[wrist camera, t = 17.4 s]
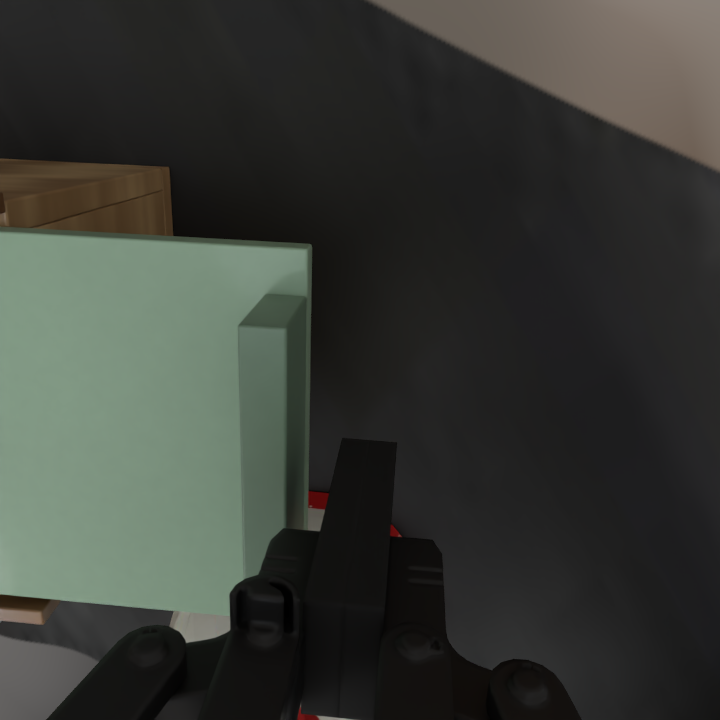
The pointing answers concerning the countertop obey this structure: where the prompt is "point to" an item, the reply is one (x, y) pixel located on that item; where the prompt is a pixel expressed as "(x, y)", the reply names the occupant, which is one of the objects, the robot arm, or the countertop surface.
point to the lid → (149, 414)
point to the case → (79, 213)
